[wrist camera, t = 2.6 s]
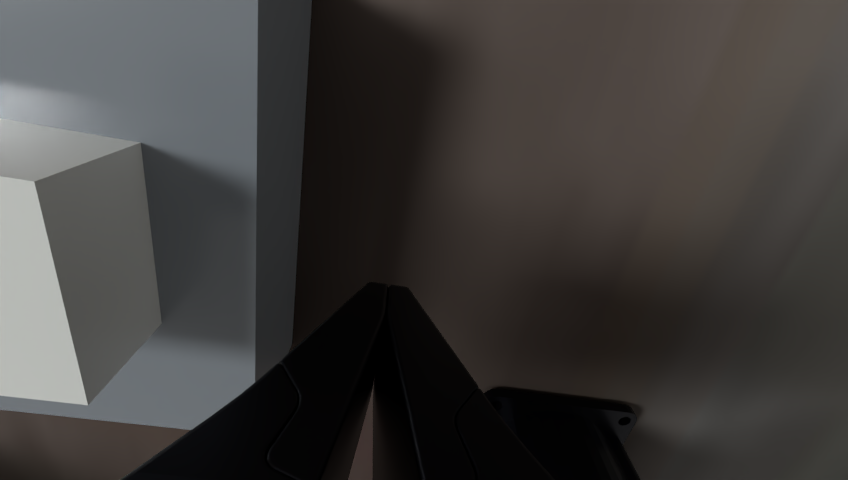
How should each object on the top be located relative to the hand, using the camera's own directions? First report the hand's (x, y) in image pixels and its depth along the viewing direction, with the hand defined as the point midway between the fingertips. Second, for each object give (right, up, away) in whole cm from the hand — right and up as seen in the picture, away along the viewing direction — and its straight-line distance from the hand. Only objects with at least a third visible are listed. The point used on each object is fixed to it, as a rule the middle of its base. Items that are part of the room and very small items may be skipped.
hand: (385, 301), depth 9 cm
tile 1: (-7, +2, 0) cm, 8 cm away
